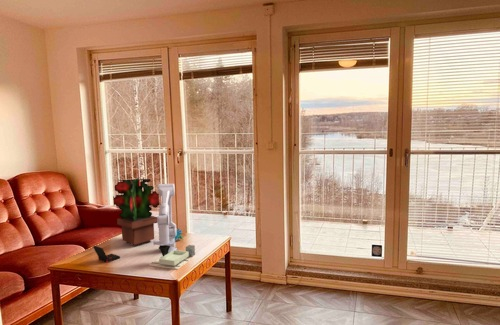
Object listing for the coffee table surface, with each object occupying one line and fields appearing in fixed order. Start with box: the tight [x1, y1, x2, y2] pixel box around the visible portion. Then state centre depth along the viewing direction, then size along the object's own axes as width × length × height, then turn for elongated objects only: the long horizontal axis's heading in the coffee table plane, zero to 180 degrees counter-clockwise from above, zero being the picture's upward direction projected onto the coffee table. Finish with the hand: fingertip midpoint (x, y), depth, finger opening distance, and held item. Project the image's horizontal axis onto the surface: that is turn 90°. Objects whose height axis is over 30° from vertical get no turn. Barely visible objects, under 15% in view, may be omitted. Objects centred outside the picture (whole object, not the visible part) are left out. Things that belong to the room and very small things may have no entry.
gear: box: [175, 228, 184, 242], centre depth 241 cm, size 11×6×10 cm
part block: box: [185, 244, 196, 258], centre depth 208 cm, size 4×4×6 cm
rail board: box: [149, 257, 191, 270], centre depth 197 cm, size 19×14×1 cm
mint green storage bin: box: [158, 249, 189, 266], centre depth 195 cm, size 10×15×4 cm
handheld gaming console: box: [92, 245, 121, 264], centre depth 203 cm, size 9×12×10 cm
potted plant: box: [112, 177, 160, 247], centre depth 234 cm, size 22×22×45 cm
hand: (165, 257), depth 198 cm, fingers closed
